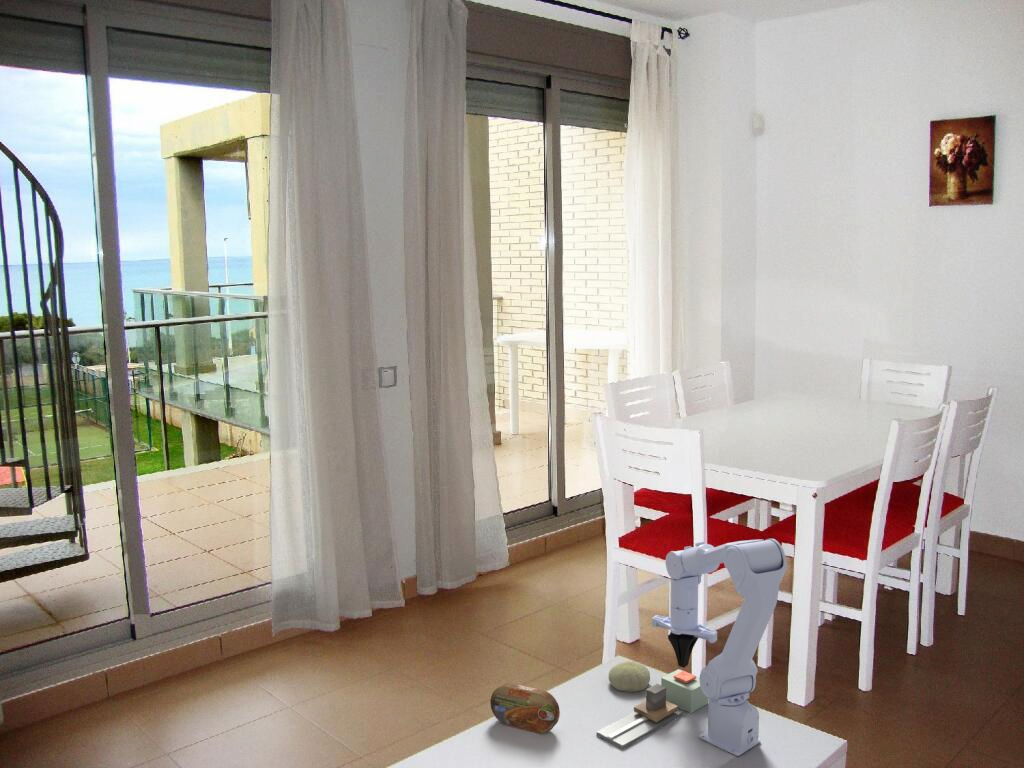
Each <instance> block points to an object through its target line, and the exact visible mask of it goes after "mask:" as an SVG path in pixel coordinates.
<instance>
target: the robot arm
mask: <svg viewBox="0 0 1024 768" xmlns="http://www.w3.org/2000/svg"><path fill="white" fill-rule="evenodd" d="M694 545H695V546H693V547H692V546H691V545H689V546H684V547H683V548H684V549H682V550H676V551H673V550H671V551H669V552H668V553H667V554H666V556H665V568H666V571H667V574H668V576H669V577H670V616H662V615H658V614H655V615H654V616H653V617H651V627H654V628H657V627H659V628H661V629H666V630H668V631H670V633H669V634H668V635H667V638H668V639H667V640H668V641H669V643H670V644H671V646H672V648H673V651H674V654H675V657H676V661H677V666H678V667H680V668H686V667H687V666H688V665H689V663H690V658H691V656H692V655H691V654H692V652H693V649H694V647H695V645H696V643H697V641H698V640H699V639H700V640H701V639H702V640H704V641H708V642H709V643H711V644H714V643H716V642H717V641H718V631H717V630H713V629H711V628H709V627H707V626H705V625H702V624H700V623H699V617H698V615H699V585H701V583H702V577H703V575H705V574H710V573H713V572H715V571H717V570H718V568H719V567H720V564H724V568H725V569H726V570H727V571H728V574H729V576H730V578H731V581H732V583H733V585H734V589H735V590H736V593H737V594H738V595H739V596H741V597H743V598H744V600H743V601H742V604H741V607H740V609H739V611H738V614H737V616H736V619H735V621H734V624H733V626H732V628H731V631H730V633H729V635H728V637H727V640H726V642H725V645H724V647H723V650H722V652H721V653H720V654H718V655H716V656H715V657H713V658H712V659H711V660H709V661H708V664H706V666H705V667H703V668H702V669H701V671H700V674H699V678H700V679H699V680H700V686H701V689H702V692H703V693H704V695H705V696H706V697H707V698H708V704H707V707H708V708H707V709H708V710H707V713H708V714H707V715H708V716H707V730H704V731H703V732H701V733H699V734H698V738H699V739H700V740H702V741H705V742H707V743H709V744H711V745H713V746H716V747H718V748H719V749H721V750H723V751H725V752H727V753H729V754H732V755H733V756H736V757H740V756H741V755H743V754H744V753H745V752H747V751H749V750H750V749H752V748H753V747H755V746H756V745H758V744H759V743H761V739H760V737H759V731H760V730H759V728H760V727H759V725H760V713H759V710H758V708H757V707H756V706H754V705H753V704H751V703H750V702H749V701H748V700H747V699H749V698H750V693H752V692H753V691H755V688H756V683H757V674H758V671H759V670H758V667H757V665H756V663H755V661H754V660H753V658H754V656H755V653H756V651H757V649H758V647H759V644H760V643H761V640H762V637H763V635H764V633H765V631H766V629H767V626H768V624H769V621H770V619H771V618H772V615H773V613H774V610H775V608H776V606H777V603H778V599H779V598H778V597H779V591H780V590H779V589H780V584H781V582H782V580H783V578H784V576H785V573H786V571H787V568H788V566H789V565H788V562H787V561H788V560H787V558H786V555H785V551H784V548H783V547H782V545H781V543H780V542H779V541H778V540H776V539H775V538H767V539H765V540H764V539H749V540H738V541H733V542H727V543H724V544H721V545H718V546H714V545H712V544H709V543H705V541H701V542H700V541H699V542H696V543H695V544H694Z"/></svg>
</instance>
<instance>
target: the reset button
mask: <svg viewBox="0 0 1024 768" xmlns="http://www.w3.org/2000/svg"><path fill="white" fill-rule="evenodd" d="M696 676H697V675H694V674H692V673H690V672H687V671H685V670H682V672H680V673H678V674H676V675H674V679H677V680H678V681H680V682H682V683H684V684H688V683H690V682H692V681H693V680H694V679H696Z"/></svg>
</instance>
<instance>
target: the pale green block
mask: <svg viewBox="0 0 1024 768" xmlns="http://www.w3.org/2000/svg"><path fill="white" fill-rule="evenodd" d="M682 671H683V670H682V669H681V668H680V669H679V668H678V669H676V670H674V671H672V672H670V673H668V674H666V675H664V676H662V677H661V681H660V682H661V683H660V685H661V686H663V687H666V701H668V702H670V703H672V704H675V705H677V706H678V709H681V710H682V711H686V712H688V713H690V714H692V713H694V712H695V711H697V710H699V709H701V708H702V707H704V706H706V705H708V704H709V699H708V698H707V697H706V696H705V695H704V693H703V692H702V689H701V686H700V680H699V679H700V676H697V675H695V676H696V679H694V680H693V681H692V682H690V683H688V684H684V683H682V682H680V681H678V680H677V679H674V675H676V674H678V673H680V672H682Z"/></svg>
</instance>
